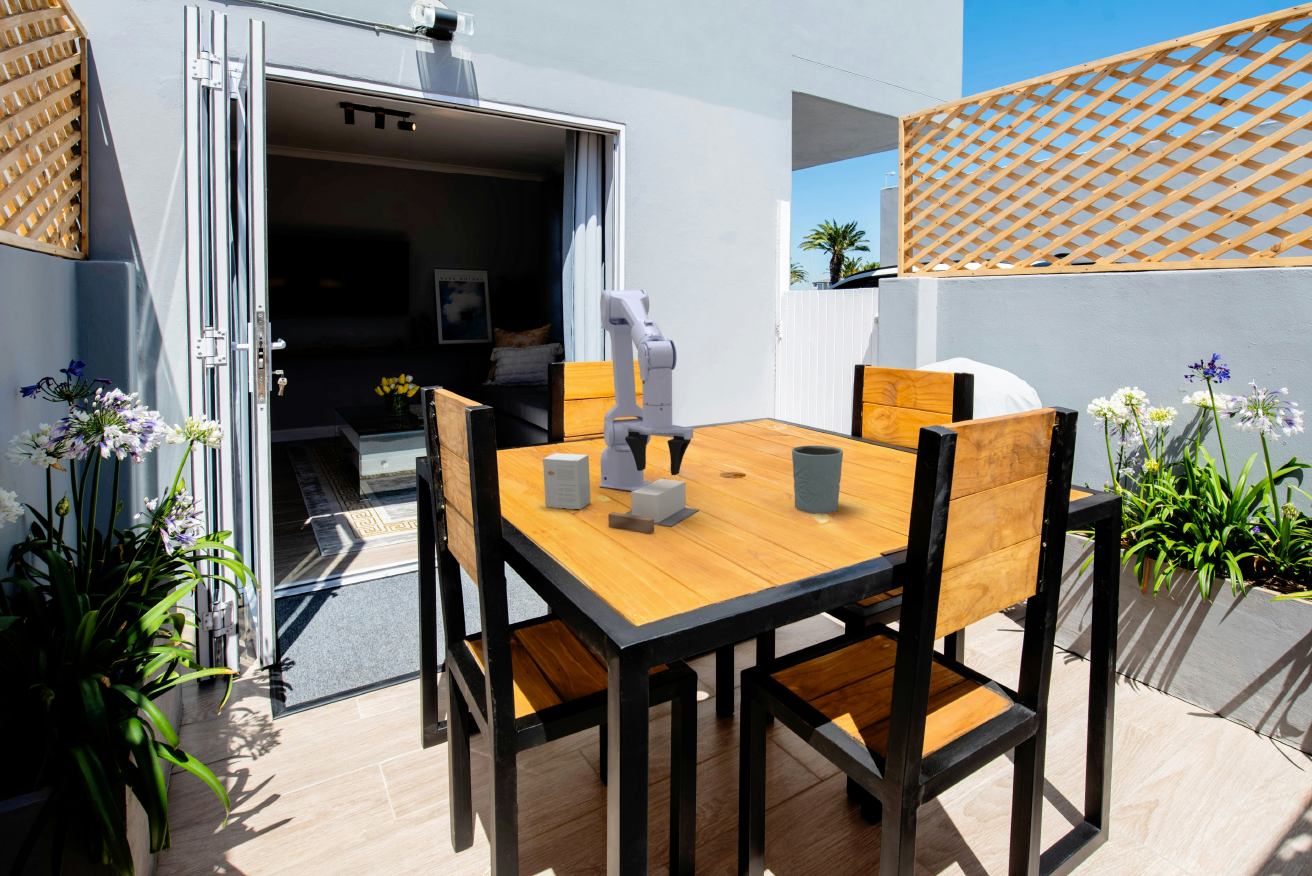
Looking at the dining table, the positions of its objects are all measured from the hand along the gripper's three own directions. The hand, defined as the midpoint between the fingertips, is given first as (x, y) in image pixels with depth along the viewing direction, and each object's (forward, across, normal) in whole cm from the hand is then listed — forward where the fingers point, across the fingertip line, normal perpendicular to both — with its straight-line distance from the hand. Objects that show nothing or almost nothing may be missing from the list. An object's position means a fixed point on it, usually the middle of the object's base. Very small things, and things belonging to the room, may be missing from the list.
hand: (658, 471), depth 140 cm
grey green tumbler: (+9, +26, +19) cm, 33 cm away
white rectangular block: (+9, 0, 0) cm, 9 cm away
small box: (+9, -20, -3) cm, 22 cm away
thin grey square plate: (+9, 0, 0) cm, 9 cm away
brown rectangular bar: (+9, 0, -11) cm, 14 cm away
